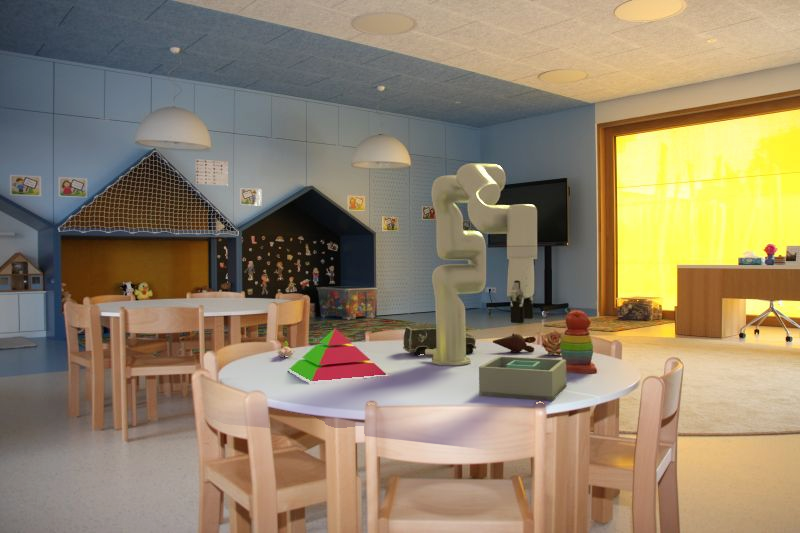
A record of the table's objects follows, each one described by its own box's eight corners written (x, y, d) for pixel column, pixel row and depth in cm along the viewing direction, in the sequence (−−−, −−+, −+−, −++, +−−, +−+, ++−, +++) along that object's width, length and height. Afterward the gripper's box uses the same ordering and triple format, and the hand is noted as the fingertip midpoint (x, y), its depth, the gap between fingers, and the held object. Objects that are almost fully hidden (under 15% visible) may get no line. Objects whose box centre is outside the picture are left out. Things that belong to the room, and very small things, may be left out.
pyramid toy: (359, 365, 210) (358, 321, 210) (391, 378, 188) (390, 329, 187) (284, 373, 200) (282, 327, 199) (308, 387, 177) (307, 335, 177)
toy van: (402, 352, 233) (401, 325, 233) (468, 349, 238) (467, 322, 238) (408, 357, 223) (408, 328, 223) (477, 353, 228) (477, 325, 228)
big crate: (479, 395, 160) (478, 367, 160) (499, 381, 177) (498, 356, 177) (552, 401, 153) (552, 371, 153) (566, 386, 169) (566, 359, 169)
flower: (536, 347, 228) (536, 330, 223) (561, 341, 228) (562, 324, 224) (547, 366, 220) (547, 349, 215) (573, 360, 221) (573, 343, 216)
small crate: (506, 388, 163) (506, 364, 163) (513, 383, 170) (513, 360, 170) (534, 390, 160) (534, 366, 160) (540, 385, 167) (540, 361, 167)
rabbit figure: (278, 358, 233) (275, 358, 218) (277, 341, 234) (275, 340, 219) (295, 357, 234) (294, 357, 219) (295, 341, 235) (294, 339, 220)
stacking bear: (597, 373, 186) (597, 311, 186) (561, 373, 188) (560, 311, 188) (594, 367, 197) (593, 308, 196) (560, 366, 199) (559, 308, 198)
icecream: (494, 336, 225) (538, 339, 224) (492, 328, 232) (534, 331, 231) (492, 354, 226) (535, 357, 226) (490, 346, 234) (532, 349, 233)
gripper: (516, 252, 174) (516, 316, 174) (498, 254, 158) (498, 324, 159) (544, 252, 171) (544, 317, 171) (528, 254, 155) (528, 325, 156)
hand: (522, 320), depth 165 cm, fingers open, 9 cm apart
